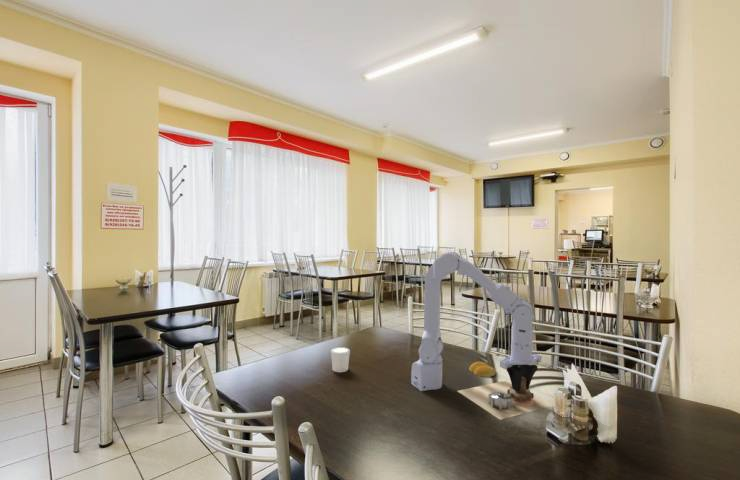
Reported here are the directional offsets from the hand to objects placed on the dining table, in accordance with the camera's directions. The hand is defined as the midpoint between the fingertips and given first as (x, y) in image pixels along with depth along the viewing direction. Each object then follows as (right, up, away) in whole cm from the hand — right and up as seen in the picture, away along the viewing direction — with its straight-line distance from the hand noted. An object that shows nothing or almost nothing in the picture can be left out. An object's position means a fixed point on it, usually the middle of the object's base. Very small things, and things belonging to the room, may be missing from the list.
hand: (520, 389), depth 103 cm
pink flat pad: (0, -3, 0) cm, 3 cm away
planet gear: (0, -2, 0) cm, 2 cm away
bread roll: (-4, -4, +21) cm, 22 cm away
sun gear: (-7, -3, -3) cm, 8 cm away
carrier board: (-4, -4, +1) cm, 6 cm away
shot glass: (-55, -3, +24) cm, 60 cm away
